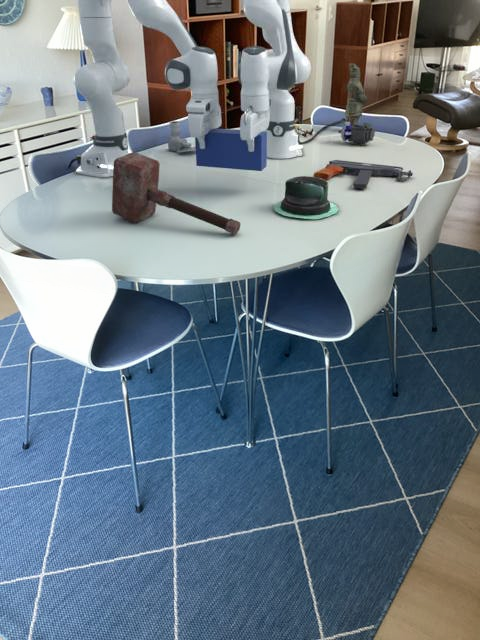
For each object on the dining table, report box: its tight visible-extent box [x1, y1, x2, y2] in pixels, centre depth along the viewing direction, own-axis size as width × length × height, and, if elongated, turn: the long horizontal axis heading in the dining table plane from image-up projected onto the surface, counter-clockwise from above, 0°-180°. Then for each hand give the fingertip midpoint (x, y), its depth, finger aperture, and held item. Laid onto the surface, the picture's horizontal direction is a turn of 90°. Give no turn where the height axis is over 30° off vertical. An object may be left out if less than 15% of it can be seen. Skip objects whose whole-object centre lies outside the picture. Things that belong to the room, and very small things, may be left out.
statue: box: [344, 62, 368, 127], centre depth 262 cm, size 11×9×30 cm
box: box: [194, 128, 268, 172], centre depth 185 cm, size 23×6×12 cm, turn 71°
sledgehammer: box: [111, 151, 241, 236], centre depth 161 cm, size 17×10×40 cm
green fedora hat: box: [273, 175, 339, 220], centre depth 172 cm, size 15×19×20 cm
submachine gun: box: [313, 159, 414, 190], centre depth 199 cm, size 32×3×25 cm
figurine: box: [295, 118, 314, 138], centre depth 267 cm, size 13×8×25 cm
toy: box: [338, 121, 376, 146], centre depth 244 cm, size 9×9×15 cm
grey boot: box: [167, 120, 196, 154], centre depth 238 cm, size 9×12×15 cm
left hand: (207, 145), depth 187 cm, fingers closed on box, 6 cm apart
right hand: (255, 148), depth 182 cm, fingers closed on box, 6 cm apart
